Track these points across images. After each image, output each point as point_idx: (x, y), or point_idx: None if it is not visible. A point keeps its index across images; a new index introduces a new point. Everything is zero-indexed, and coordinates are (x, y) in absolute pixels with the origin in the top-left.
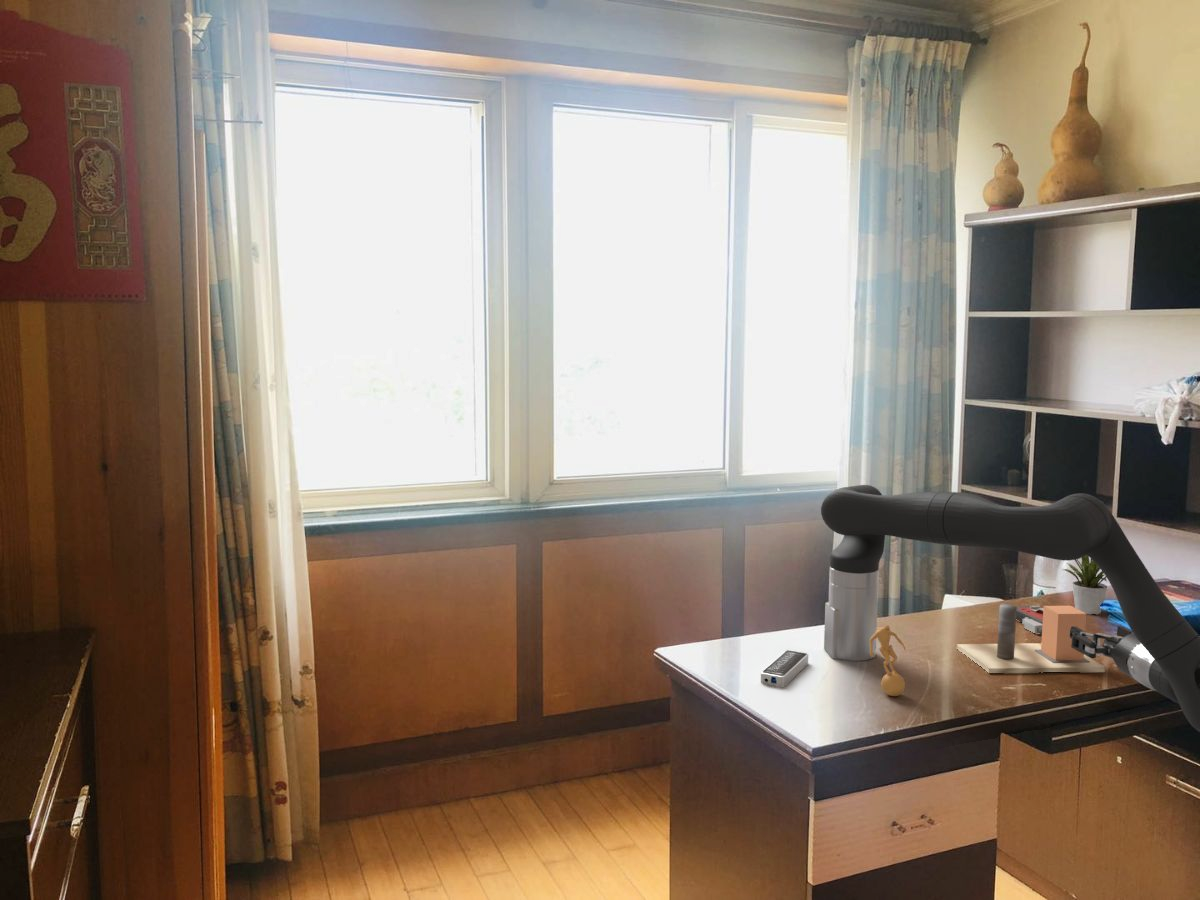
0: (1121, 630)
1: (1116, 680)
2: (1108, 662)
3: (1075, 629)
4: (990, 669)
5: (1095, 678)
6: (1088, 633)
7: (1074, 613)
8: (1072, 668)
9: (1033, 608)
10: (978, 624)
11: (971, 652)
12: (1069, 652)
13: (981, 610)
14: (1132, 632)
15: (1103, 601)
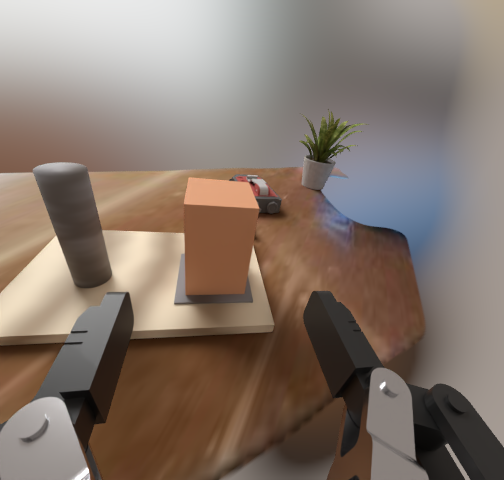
0: (321, 316)
1: (281, 382)
2: (295, 288)
3: (94, 323)
4: None
5: (236, 370)
6: (61, 436)
7: (230, 205)
8: (200, 329)
9: (249, 178)
10: (181, 190)
11: (44, 255)
12: (215, 282)
13: (211, 174)
14: (366, 366)
15: (327, 177)
